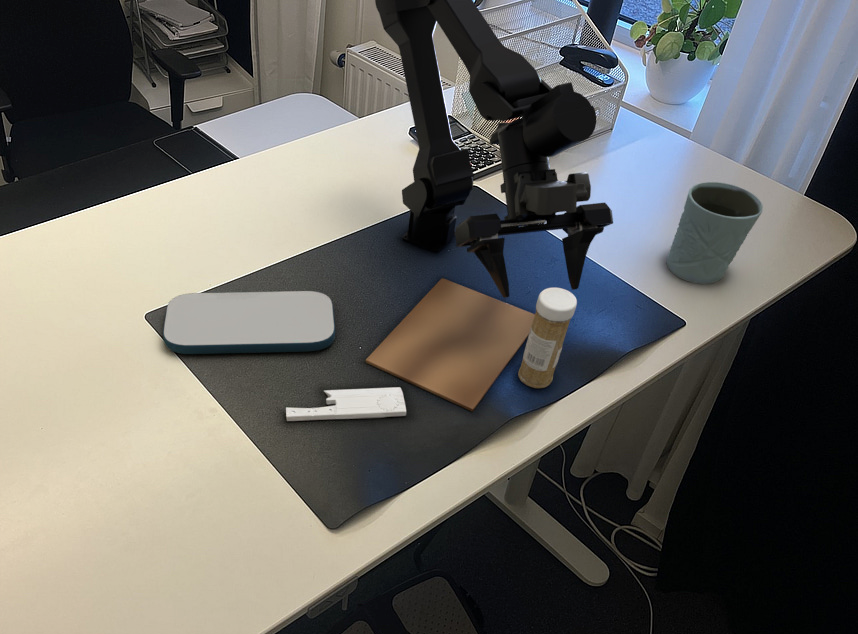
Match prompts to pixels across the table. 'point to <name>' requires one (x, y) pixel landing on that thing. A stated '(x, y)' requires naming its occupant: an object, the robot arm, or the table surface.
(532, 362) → the sprinkles bottle
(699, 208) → the green ceramic cup
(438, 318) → the cork placemat
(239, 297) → the external hard drive
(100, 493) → the table surface
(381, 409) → the white plastic blade
